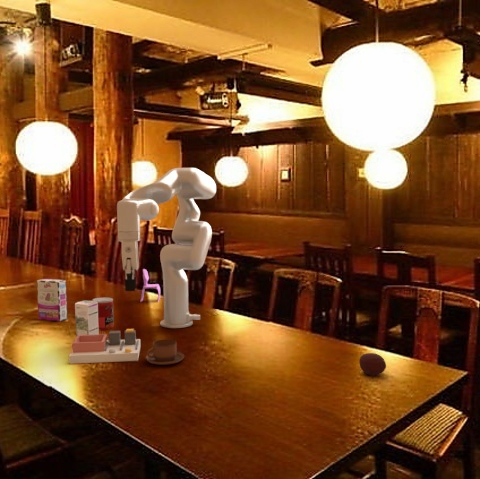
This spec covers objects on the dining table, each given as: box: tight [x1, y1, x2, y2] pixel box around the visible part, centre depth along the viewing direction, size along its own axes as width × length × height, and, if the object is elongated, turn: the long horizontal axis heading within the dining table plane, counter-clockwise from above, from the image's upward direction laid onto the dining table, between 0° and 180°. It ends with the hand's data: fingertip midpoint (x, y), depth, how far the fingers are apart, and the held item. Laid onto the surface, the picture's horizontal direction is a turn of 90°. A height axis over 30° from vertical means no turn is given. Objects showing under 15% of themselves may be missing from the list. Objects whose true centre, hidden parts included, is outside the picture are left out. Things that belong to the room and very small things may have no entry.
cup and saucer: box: [145, 338, 185, 366], centre depth 181 cm, size 12×12×6 cm
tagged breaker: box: [124, 328, 137, 345], centre depth 192 cm, size 3×3×5 cm
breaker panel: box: [68, 333, 141, 364], centre depth 188 cm, size 21×16×6 cm
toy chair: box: [139, 268, 161, 303], centre depth 272 cm, size 8×9×15 cm
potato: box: [358, 352, 387, 376], centre depth 168 cm, size 7×8×6 cm
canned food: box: [91, 296, 115, 331], centre depth 223 cm, size 8×8×11 cm
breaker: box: [108, 330, 122, 345], centre depth 191 cm, size 3×3×4 cm
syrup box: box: [74, 300, 100, 338], centre depth 202 cm, size 6×6×14 cm
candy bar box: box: [36, 278, 68, 323], centre depth 236 cm, size 11×5×16 cm, turn 68°
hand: (130, 289), depth 198 cm, fingers open, 3 cm apart
